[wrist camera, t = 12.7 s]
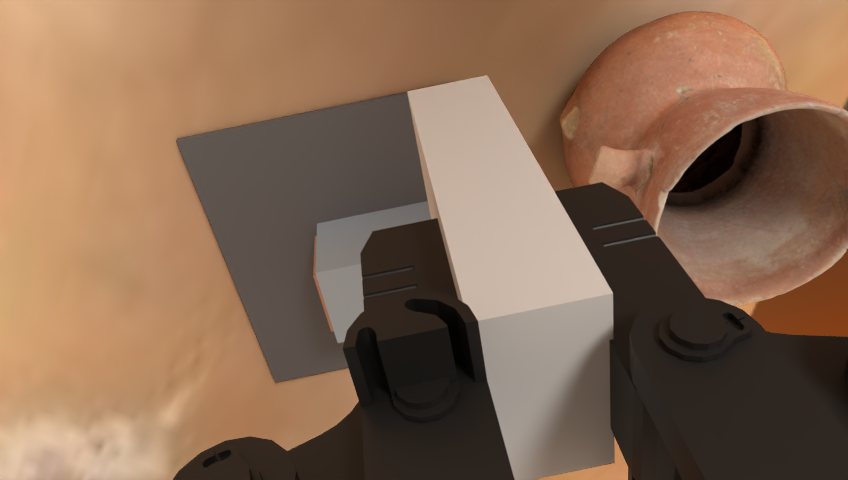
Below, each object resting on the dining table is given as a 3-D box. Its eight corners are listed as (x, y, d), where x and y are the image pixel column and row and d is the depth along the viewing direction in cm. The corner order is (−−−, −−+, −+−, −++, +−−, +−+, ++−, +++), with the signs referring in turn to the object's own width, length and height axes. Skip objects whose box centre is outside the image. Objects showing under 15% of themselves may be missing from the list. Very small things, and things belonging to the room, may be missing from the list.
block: (310, 274, 42) (451, 245, 42) (312, 224, 47) (438, 198, 47) (333, 344, 45) (463, 317, 45) (333, 290, 50) (450, 266, 50)
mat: (177, 138, 43) (176, 141, 42) (452, 82, 43) (453, 84, 43) (275, 379, 55) (275, 382, 55) (489, 335, 55) (490, 338, 55)
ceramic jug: (507, 186, 48) (570, 315, 36) (572, -24, 40) (678, 53, 28) (727, 212, 52) (848, 336, 40) (824, 26, 44) (1008, 111, 32)
